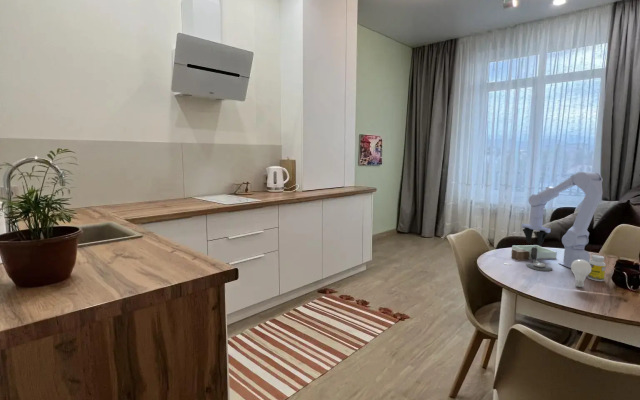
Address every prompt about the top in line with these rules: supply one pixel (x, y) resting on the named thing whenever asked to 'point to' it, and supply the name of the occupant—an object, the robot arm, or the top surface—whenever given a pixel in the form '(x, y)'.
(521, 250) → the brown wooden block
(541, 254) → the tray
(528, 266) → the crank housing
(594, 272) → the supplement bottle
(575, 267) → the lightbulb
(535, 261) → the crank
